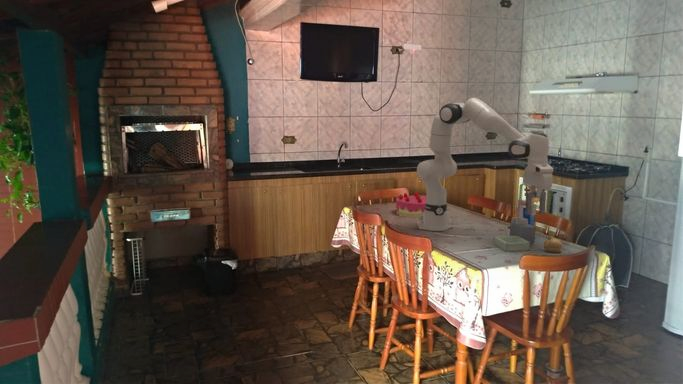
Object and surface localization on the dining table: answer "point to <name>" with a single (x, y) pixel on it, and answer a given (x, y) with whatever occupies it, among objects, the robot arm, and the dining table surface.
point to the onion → (553, 245)
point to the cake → (410, 205)
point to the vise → (522, 229)
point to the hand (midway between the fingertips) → (535, 195)
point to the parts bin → (511, 243)
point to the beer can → (529, 217)
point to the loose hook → (529, 199)
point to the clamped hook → (520, 209)
